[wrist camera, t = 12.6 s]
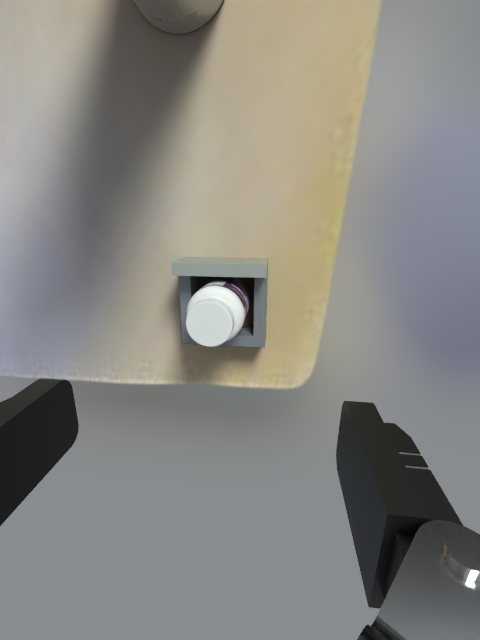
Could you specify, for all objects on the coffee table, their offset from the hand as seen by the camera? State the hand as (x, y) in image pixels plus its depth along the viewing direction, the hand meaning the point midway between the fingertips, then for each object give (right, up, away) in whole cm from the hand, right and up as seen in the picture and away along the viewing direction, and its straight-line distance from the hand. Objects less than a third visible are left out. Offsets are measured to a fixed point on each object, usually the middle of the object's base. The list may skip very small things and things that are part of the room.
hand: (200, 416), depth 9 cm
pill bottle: (0, +5, +27) cm, 27 cm away
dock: (0, +5, +27) cm, 27 cm away
